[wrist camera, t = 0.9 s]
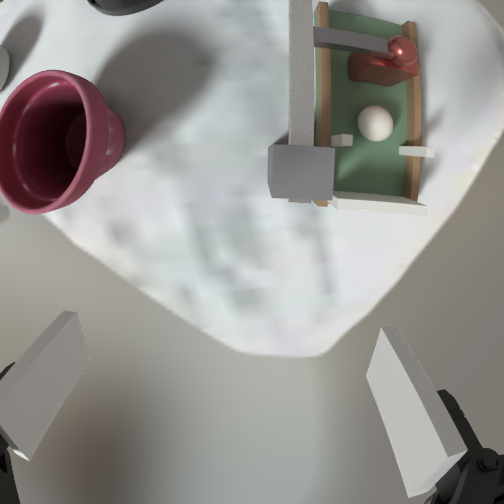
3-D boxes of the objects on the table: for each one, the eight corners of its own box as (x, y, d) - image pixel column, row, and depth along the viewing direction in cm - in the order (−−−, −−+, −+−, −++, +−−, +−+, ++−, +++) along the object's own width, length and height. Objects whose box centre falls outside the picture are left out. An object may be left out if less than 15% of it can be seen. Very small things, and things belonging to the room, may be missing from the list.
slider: (277, -26, 23) (281, -73, 13) (380, -10, 23) (411, -46, 13) (275, 188, 32) (282, 204, 22) (386, 195, 32) (430, 213, 22)
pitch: (270, 10, 26) (273, -45, 15) (403, 31, 26) (451, -3, 14) (267, 199, 34) (271, 224, 23) (403, 207, 34) (458, 233, 22)
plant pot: (129, 68, 29) (74, 40, 17) (159, 169, 33) (109, 181, 21) (46, 118, 31) (-18, 117, 19) (72, 209, 35) (10, 235, 23)
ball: (352, 105, 29) (364, 100, 25) (384, 110, 29) (399, 106, 25) (352, 139, 30) (364, 138, 26) (384, 143, 30) (399, 143, 26)
